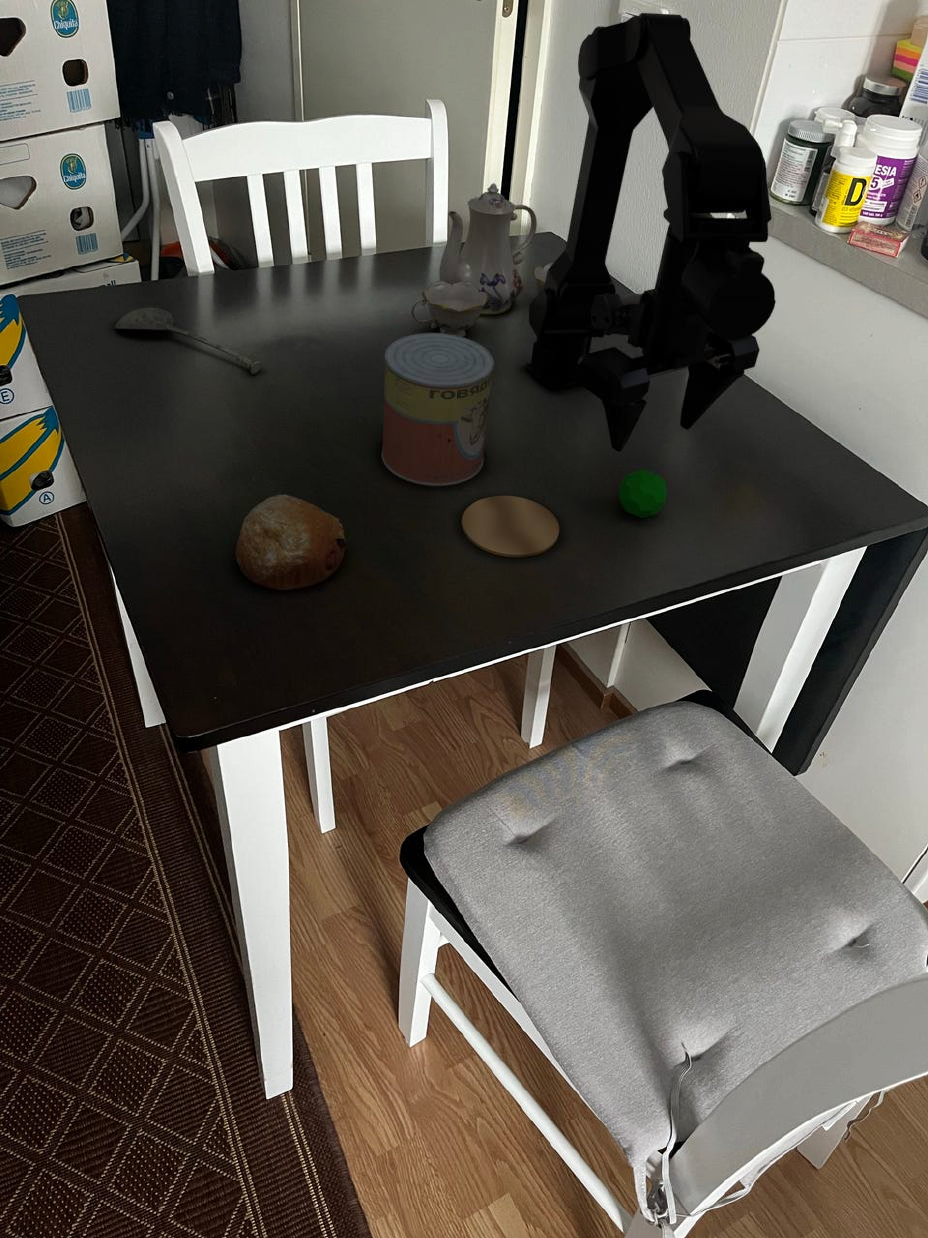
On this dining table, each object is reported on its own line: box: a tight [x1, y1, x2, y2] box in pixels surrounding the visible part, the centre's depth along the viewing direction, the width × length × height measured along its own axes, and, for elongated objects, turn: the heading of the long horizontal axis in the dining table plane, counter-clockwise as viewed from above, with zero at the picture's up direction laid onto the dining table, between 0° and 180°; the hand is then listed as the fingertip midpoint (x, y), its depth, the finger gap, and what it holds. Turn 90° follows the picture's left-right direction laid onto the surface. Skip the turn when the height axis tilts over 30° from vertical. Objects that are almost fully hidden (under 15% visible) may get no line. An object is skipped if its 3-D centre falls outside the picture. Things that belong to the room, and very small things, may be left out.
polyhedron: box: [618, 469, 668, 519], centre depth 103 cm, size 5×5×5 cm
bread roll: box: [235, 493, 348, 591], centre depth 93 cm, size 10×10×8 cm
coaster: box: [461, 495, 560, 559], centre depth 101 cm, size 10×10×1 cm
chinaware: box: [411, 182, 555, 337], centre depth 133 cm, size 28×17×17 cm, turn 127°
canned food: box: [381, 332, 495, 487], centre depth 105 cm, size 11×11×12 cm
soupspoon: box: [114, 307, 262, 375], centre depth 123 cm, size 22×3×7 cm
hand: (651, 438), depth 99 cm, fingers open, 9 cm apart
